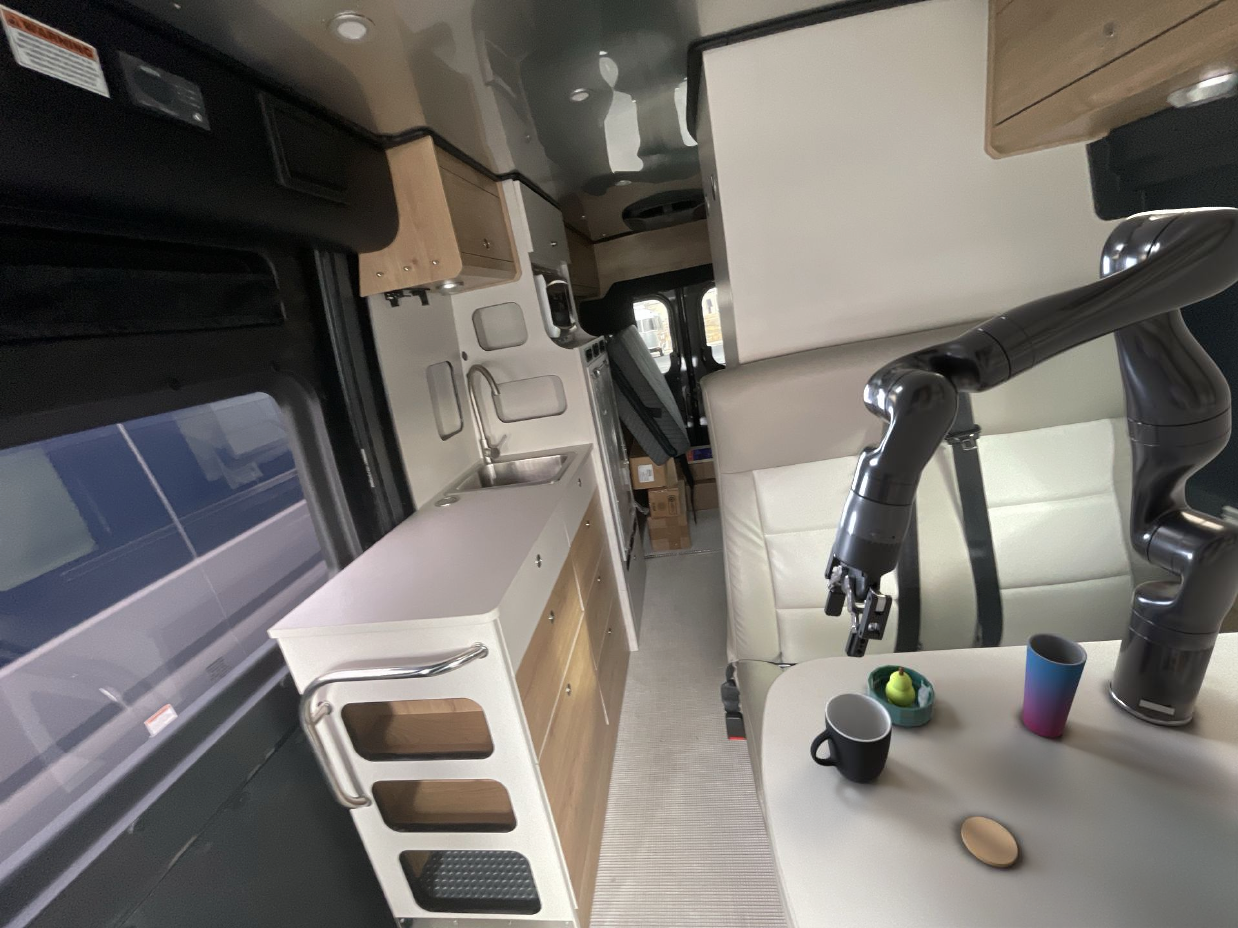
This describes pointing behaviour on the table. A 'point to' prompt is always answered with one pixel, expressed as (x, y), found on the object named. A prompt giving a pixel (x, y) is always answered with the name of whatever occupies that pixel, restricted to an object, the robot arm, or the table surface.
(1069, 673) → the cup
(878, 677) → the bowl
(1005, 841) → the coaster
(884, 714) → the mug
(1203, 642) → the robot arm
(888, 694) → the pear
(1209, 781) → the table surface
